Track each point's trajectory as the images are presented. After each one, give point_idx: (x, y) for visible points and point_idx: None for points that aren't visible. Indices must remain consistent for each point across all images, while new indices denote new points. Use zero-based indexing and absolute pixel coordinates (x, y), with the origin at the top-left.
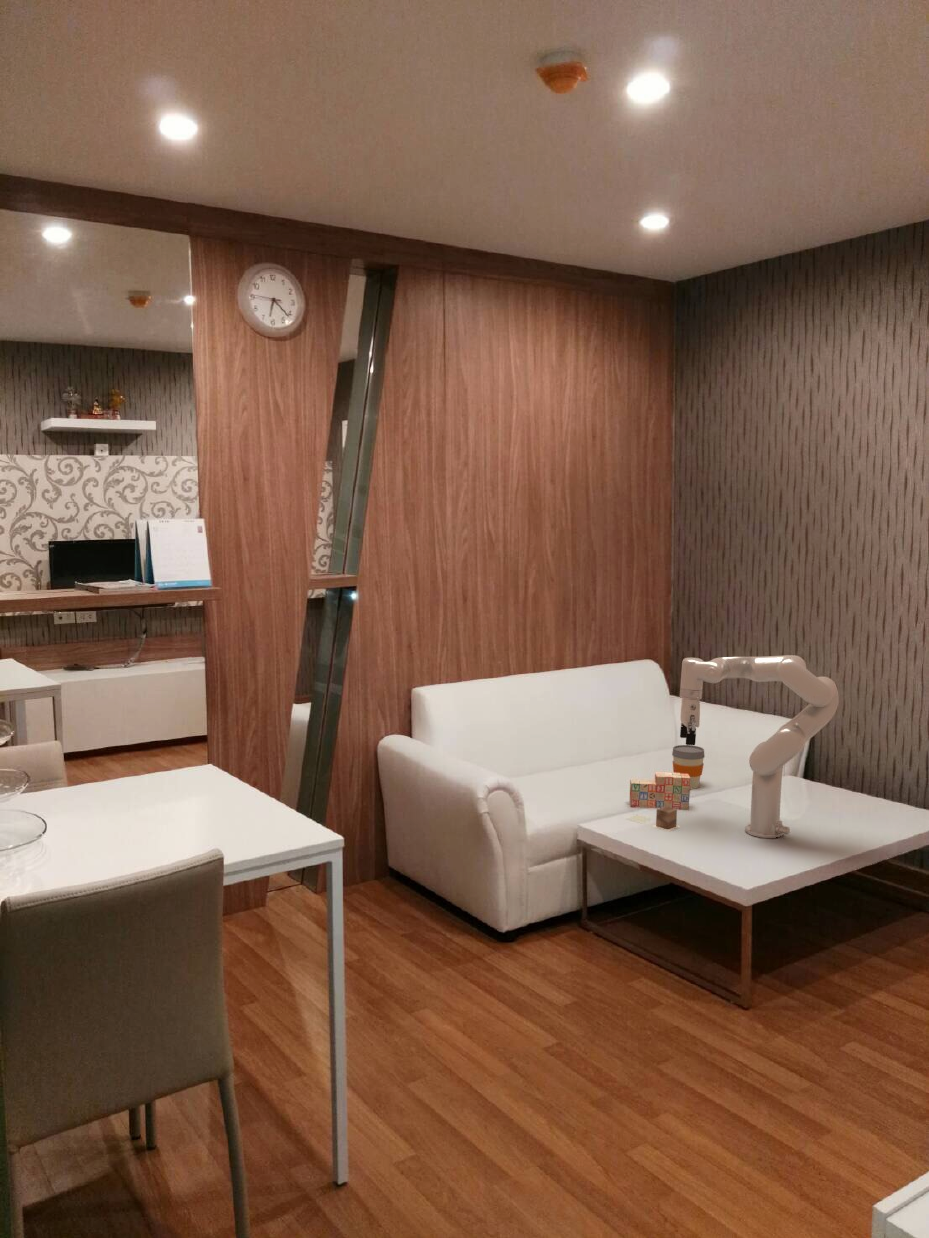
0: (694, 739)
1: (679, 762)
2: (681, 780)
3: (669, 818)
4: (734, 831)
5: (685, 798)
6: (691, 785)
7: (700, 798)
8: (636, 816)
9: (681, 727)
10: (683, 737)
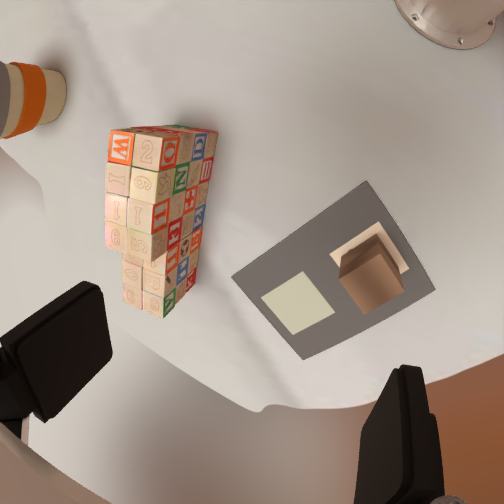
0: (424, 427)
1: (12, 126)
2: (164, 170)
3: (400, 279)
4: (435, 74)
5: (199, 145)
6: (60, 89)
7: (125, 75)
8: (275, 303)
9: (48, 415)
10: (108, 336)
